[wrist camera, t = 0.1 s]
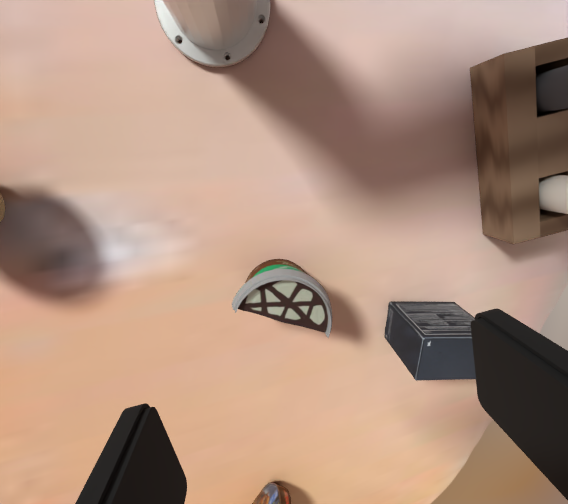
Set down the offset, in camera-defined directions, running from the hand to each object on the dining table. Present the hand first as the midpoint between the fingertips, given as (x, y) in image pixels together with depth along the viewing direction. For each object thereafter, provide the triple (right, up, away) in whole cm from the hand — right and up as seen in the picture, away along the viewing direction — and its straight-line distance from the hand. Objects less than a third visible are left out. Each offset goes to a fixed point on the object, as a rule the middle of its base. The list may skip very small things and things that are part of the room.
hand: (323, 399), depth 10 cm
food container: (-1, +1, +38) cm, 38 cm away
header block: (+31, +19, +36) cm, 51 cm away
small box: (+19, -6, +42) cm, 47 cm away
